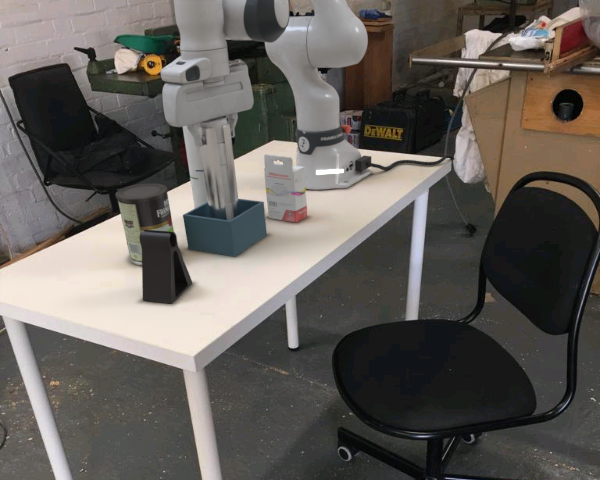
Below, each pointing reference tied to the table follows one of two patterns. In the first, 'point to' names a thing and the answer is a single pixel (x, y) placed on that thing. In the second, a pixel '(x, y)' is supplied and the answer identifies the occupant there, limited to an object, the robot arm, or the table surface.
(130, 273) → the table surface
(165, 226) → the coffee can
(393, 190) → the table surface
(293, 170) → the ink cartridge box
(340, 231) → the table surface
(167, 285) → the phone stand
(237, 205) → the silver tall cylinder
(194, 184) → the cylindrical container
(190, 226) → the case
